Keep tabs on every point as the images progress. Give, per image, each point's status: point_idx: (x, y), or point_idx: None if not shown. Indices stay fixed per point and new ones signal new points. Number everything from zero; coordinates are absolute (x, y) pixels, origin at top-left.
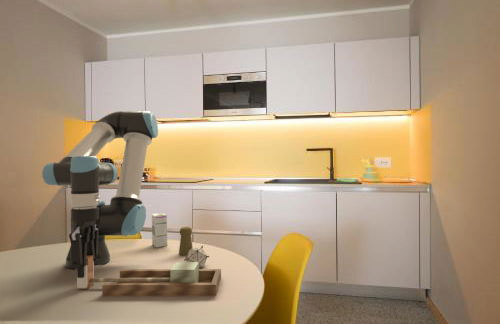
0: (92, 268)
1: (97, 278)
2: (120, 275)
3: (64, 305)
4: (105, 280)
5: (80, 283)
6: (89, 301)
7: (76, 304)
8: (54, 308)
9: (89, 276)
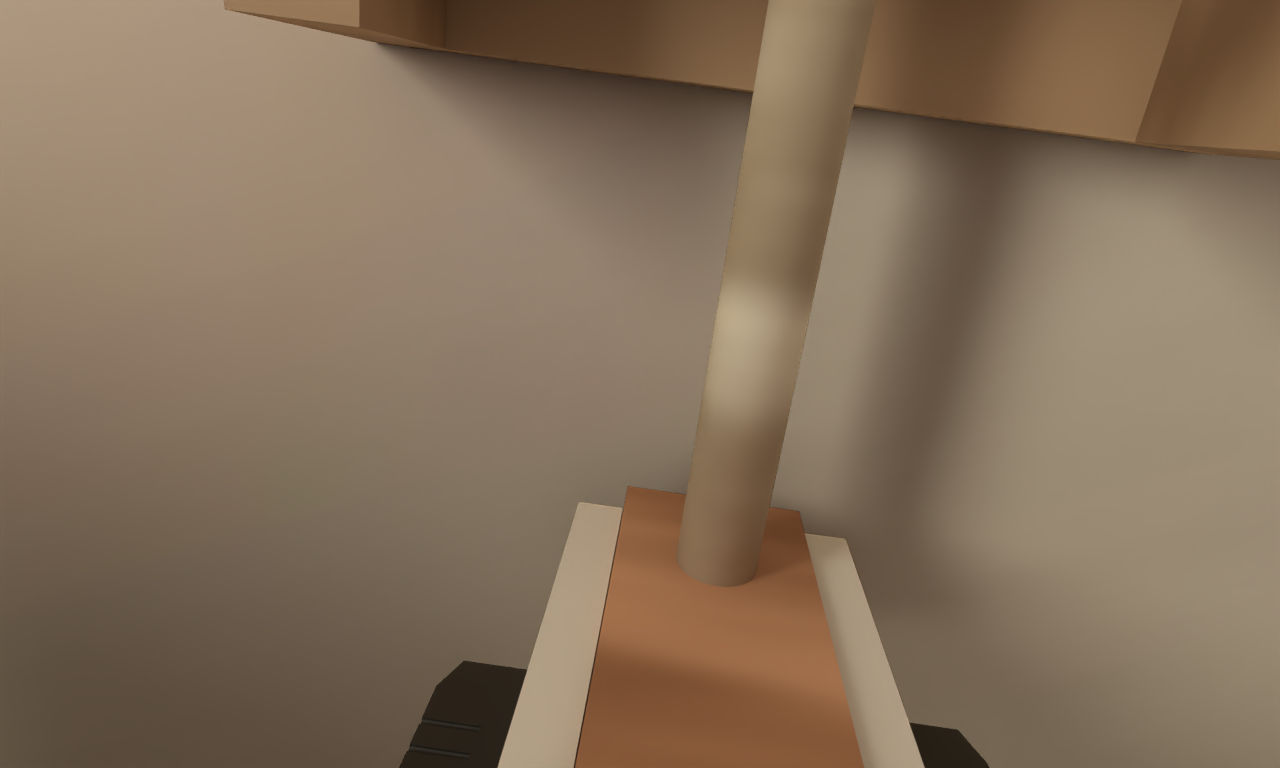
0: (623, 705)
1: (755, 449)
2: (407, 14)
3: (1215, 636)
4: (818, 254)
5: None
6: (1197, 346)
7: (1245, 498)
8: (1272, 716)
9: (770, 626)
